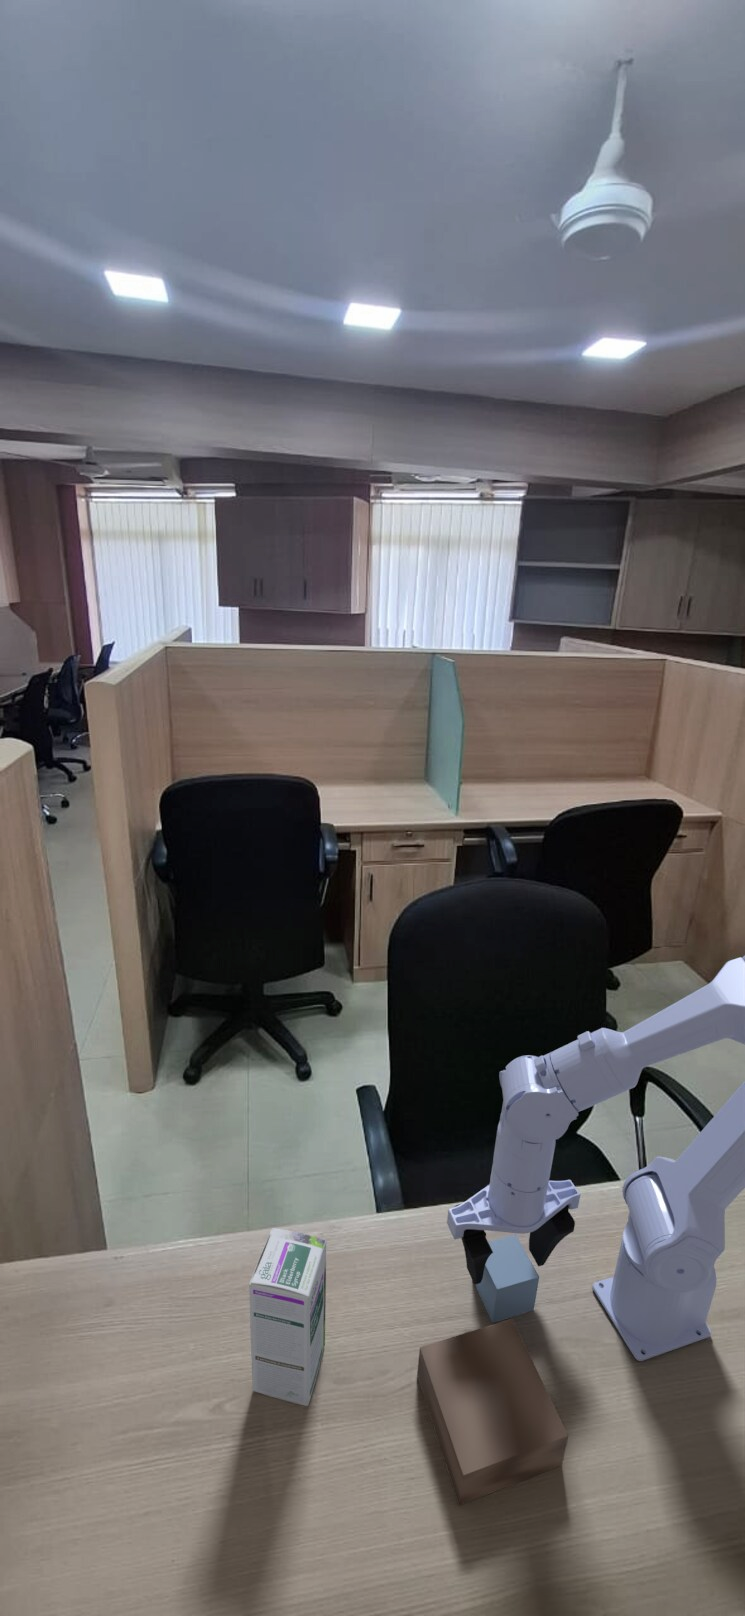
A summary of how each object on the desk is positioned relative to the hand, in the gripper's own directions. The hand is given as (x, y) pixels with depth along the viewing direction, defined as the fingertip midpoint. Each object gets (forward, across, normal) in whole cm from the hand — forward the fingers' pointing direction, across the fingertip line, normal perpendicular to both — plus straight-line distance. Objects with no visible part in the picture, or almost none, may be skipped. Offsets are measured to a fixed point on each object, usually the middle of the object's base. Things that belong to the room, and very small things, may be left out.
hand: (505, 1266), depth 71 cm
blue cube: (+4, 0, 0) cm, 4 cm away
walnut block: (+4, +7, +10) cm, 13 cm away
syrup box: (+4, +24, +1) cm, 24 cm away
